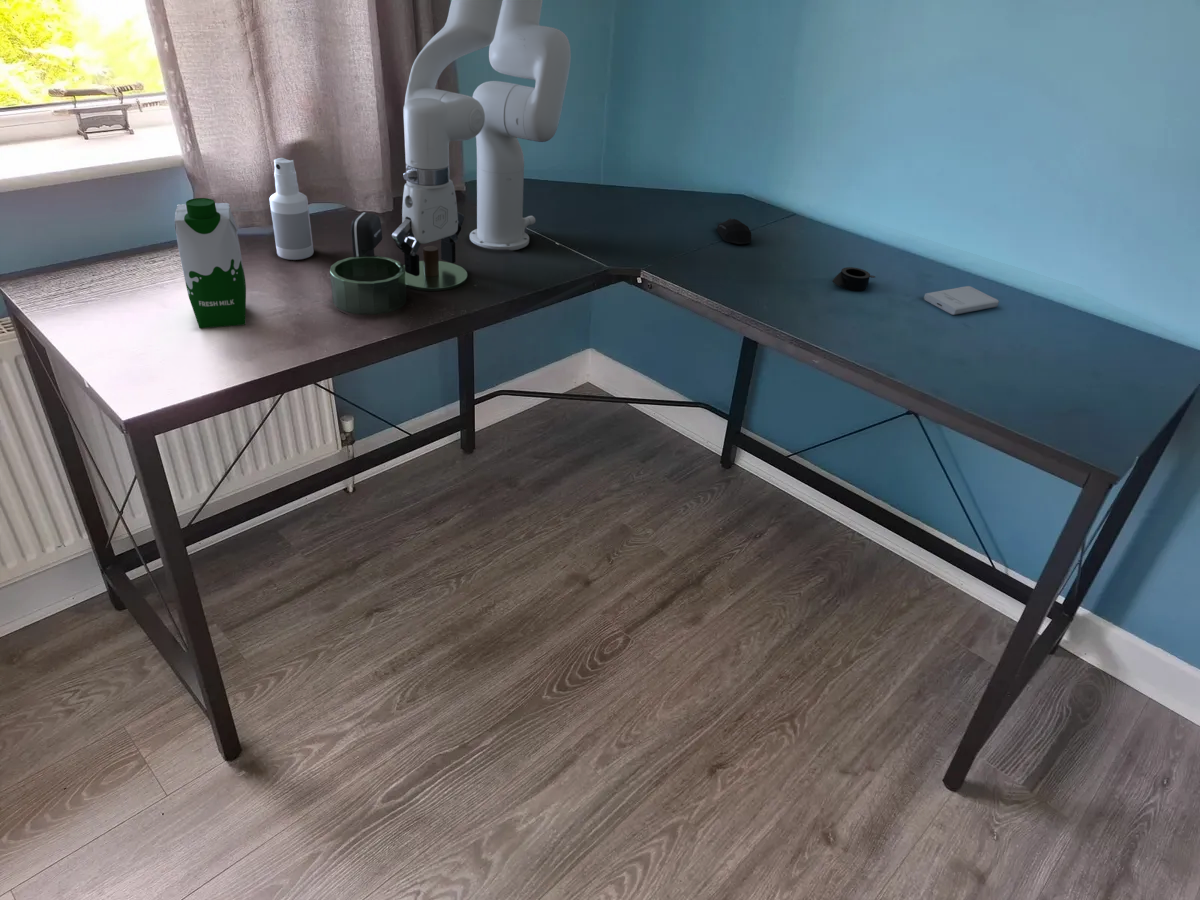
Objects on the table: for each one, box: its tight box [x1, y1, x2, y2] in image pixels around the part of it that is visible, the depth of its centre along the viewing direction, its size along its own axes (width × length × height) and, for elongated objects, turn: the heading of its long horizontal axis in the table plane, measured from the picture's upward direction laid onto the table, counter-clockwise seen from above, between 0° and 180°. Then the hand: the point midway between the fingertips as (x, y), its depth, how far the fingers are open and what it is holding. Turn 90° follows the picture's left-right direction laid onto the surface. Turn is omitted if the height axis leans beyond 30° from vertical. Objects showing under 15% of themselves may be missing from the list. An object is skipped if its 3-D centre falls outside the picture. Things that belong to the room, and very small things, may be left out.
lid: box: [402, 245, 468, 292], centre depth 157 cm, size 13×13×6 cm
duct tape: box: [831, 266, 876, 293], centre depth 172 cm, size 8×10×3 cm
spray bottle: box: [268, 157, 315, 261], centre depth 158 cm, size 7×7×18 cm
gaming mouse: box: [716, 218, 752, 245], centre depth 192 cm, size 6×15×4 cm, turn 12°
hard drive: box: [923, 285, 1000, 316], centre depth 169 cm, size 2×8×12 cm
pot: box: [329, 255, 407, 316], centre depth 146 cm, size 12×12×6 cm
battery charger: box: [350, 212, 383, 257], centre depth 154 cm, size 7×4×11 cm, turn 175°
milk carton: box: [174, 197, 247, 329], centre depth 133 cm, size 9×9×20 cm
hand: (430, 267), depth 157 cm, fingers open, 8 cm apart
